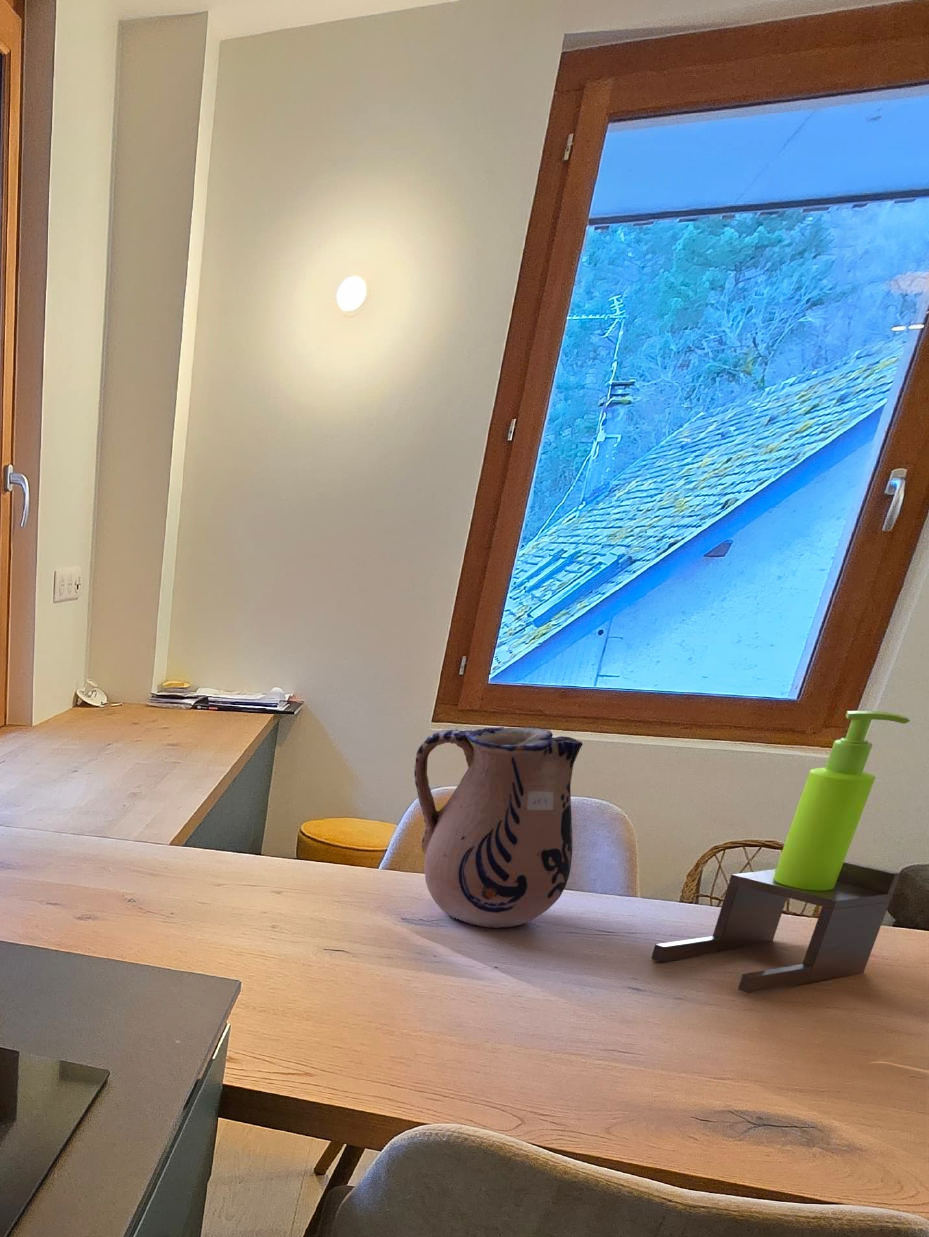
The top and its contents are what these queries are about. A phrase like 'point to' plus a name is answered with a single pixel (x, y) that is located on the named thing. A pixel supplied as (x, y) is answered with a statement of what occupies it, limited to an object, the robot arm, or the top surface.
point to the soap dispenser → (830, 810)
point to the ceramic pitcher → (500, 825)
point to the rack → (836, 937)
